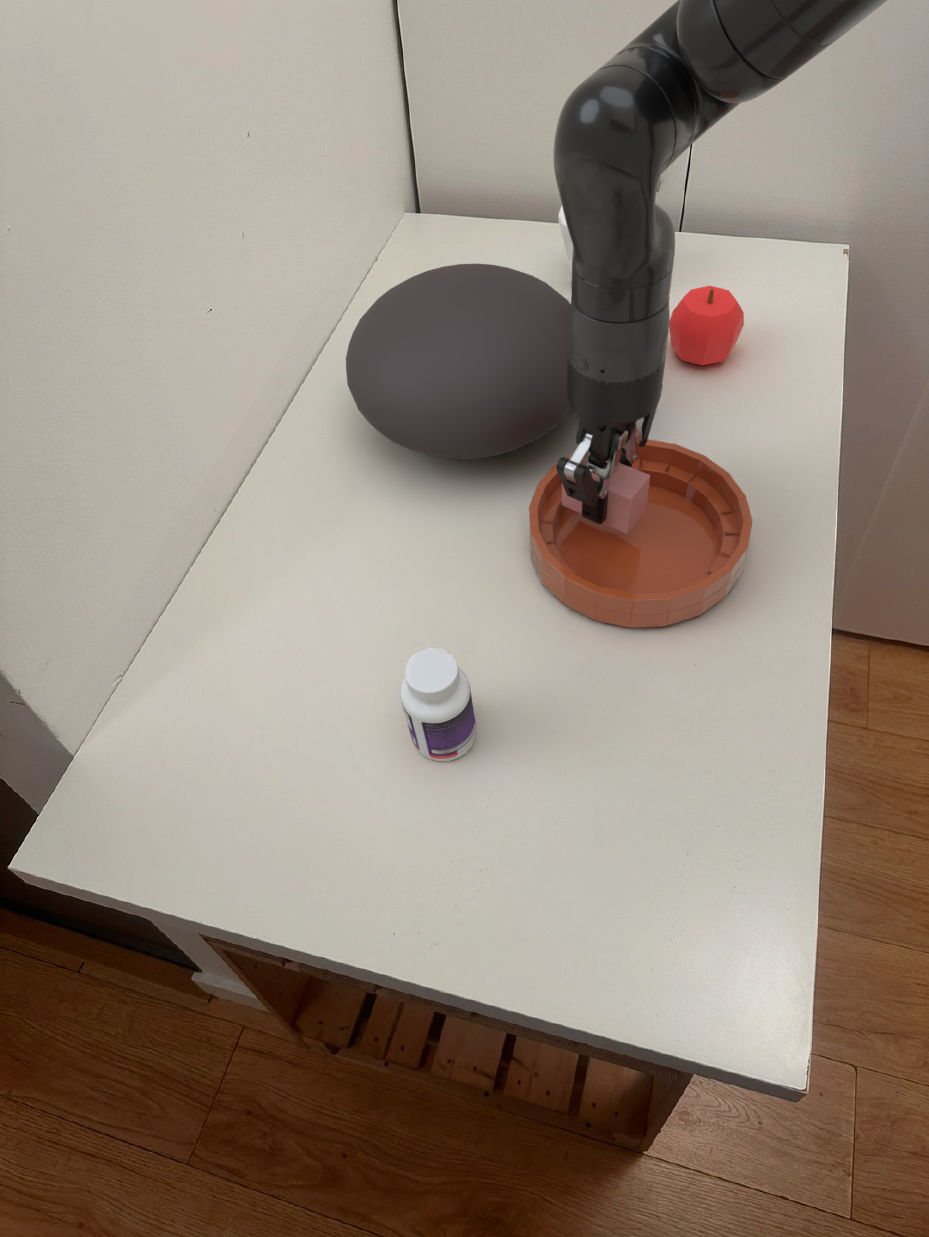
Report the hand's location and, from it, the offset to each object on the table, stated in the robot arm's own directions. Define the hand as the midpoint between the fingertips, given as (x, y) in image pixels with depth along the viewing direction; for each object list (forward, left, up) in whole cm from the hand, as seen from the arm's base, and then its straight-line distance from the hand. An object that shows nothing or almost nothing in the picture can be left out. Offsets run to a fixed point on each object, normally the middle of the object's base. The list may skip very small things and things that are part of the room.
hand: (605, 504), depth 80 cm
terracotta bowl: (-3, 0, -4) cm, 5 cm away
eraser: (0, 0, -1) cm, 1 cm away
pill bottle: (0, +26, -4) cm, 26 cm away
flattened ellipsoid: (+21, -7, -4) cm, 22 cm away
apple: (+5, -29, -4) cm, 30 cm away
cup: (+22, -35, -4) cm, 41 cm away
